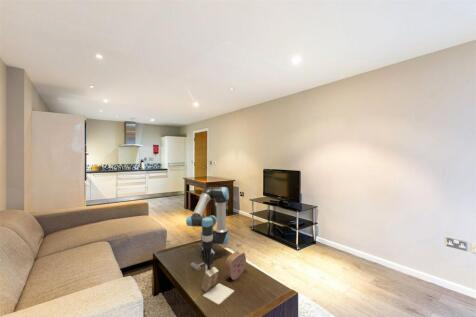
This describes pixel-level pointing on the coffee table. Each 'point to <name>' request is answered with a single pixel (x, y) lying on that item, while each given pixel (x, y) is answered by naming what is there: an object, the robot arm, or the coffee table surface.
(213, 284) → the wooden block
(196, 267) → the rubber mallet
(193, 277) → the coffee table surface
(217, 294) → the felt mat
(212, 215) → the robot arm
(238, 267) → the face sculpture
